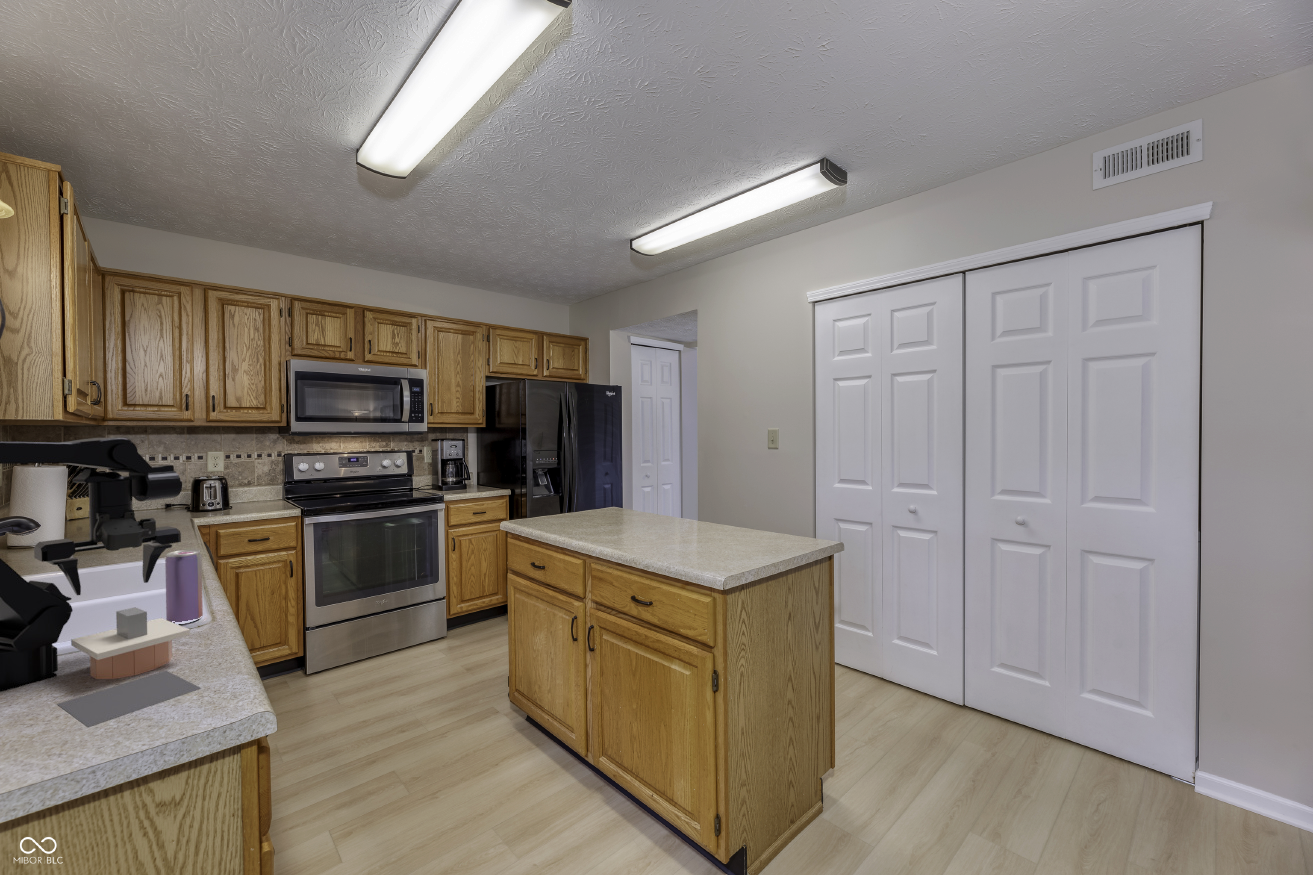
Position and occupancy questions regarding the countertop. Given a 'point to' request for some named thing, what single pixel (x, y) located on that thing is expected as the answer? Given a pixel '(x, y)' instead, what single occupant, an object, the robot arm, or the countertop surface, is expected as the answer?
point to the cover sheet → (123, 645)
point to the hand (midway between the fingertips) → (113, 588)
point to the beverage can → (183, 585)
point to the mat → (127, 698)
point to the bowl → (131, 662)
